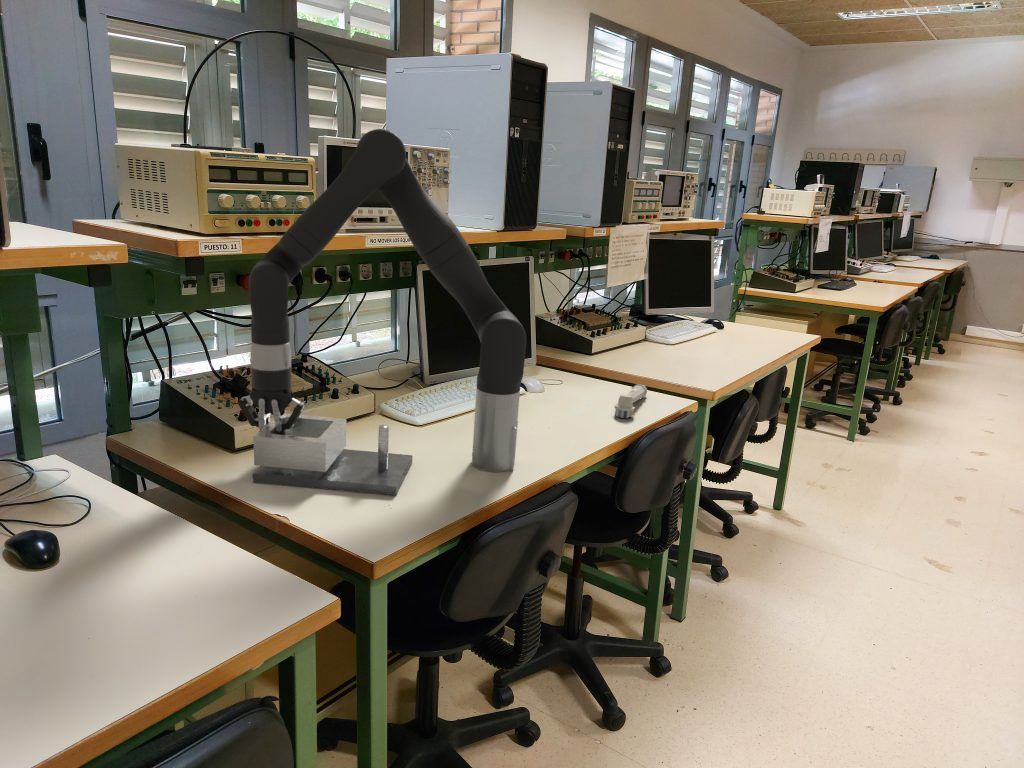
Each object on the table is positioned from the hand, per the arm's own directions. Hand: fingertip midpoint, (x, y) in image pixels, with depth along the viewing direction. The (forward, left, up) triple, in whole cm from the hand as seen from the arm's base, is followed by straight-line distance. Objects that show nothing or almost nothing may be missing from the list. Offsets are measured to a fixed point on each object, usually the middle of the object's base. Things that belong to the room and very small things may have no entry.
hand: (272, 446), depth 144 cm
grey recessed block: (-6, 0, -1) cm, 6 cm away
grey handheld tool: (-79, -63, -5) cm, 101 cm away
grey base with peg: (-13, 0, -5) cm, 14 cm away
